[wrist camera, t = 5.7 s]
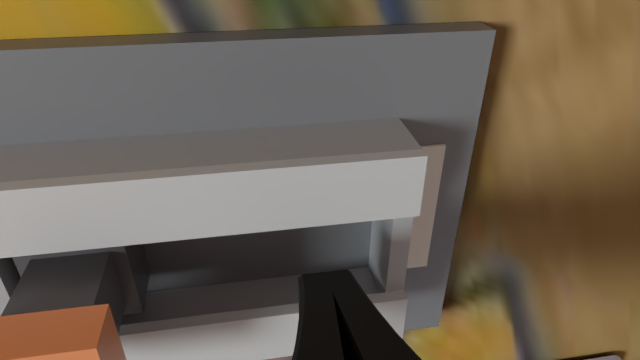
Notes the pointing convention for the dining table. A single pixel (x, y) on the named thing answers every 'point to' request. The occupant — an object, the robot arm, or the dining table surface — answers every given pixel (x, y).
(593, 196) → the dining table surface
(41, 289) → the toggle
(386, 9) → the dining table surface
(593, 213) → the dining table surface
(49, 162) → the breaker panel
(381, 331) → the robot arm
